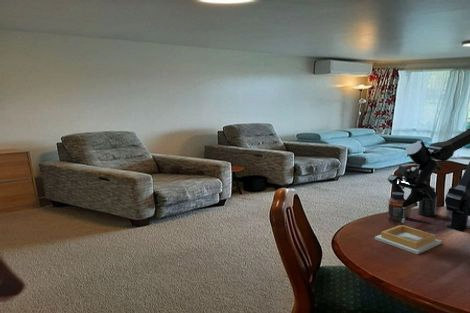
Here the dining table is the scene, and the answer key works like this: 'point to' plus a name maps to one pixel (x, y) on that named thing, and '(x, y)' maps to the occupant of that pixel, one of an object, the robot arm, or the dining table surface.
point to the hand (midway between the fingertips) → (396, 204)
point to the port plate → (408, 239)
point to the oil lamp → (408, 209)
